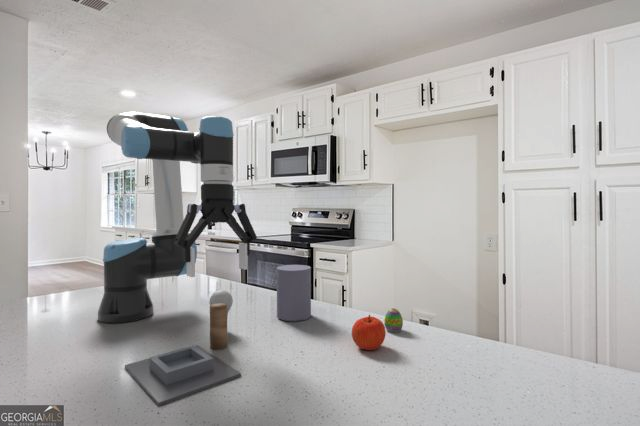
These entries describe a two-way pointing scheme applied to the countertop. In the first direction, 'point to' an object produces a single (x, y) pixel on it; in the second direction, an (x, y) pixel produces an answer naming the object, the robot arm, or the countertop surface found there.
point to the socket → (180, 373)
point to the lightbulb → (222, 298)
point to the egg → (393, 320)
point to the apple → (368, 333)
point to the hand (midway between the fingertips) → (218, 272)
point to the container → (293, 292)
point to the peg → (218, 326)
